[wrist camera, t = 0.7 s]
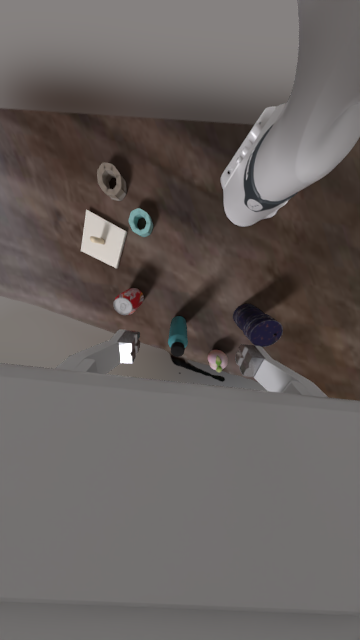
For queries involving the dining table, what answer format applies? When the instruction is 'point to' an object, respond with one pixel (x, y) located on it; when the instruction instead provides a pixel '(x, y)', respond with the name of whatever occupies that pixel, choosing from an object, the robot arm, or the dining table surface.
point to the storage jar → (257, 325)
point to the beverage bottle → (178, 336)
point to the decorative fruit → (217, 360)
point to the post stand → (102, 239)
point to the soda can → (128, 301)
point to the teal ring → (133, 222)
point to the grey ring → (104, 177)
